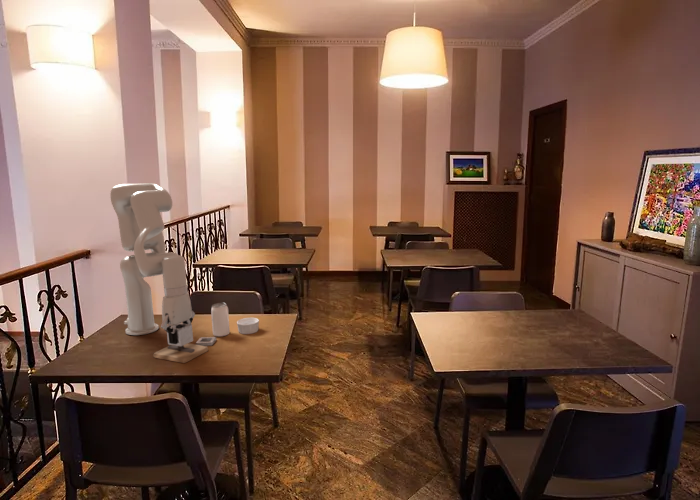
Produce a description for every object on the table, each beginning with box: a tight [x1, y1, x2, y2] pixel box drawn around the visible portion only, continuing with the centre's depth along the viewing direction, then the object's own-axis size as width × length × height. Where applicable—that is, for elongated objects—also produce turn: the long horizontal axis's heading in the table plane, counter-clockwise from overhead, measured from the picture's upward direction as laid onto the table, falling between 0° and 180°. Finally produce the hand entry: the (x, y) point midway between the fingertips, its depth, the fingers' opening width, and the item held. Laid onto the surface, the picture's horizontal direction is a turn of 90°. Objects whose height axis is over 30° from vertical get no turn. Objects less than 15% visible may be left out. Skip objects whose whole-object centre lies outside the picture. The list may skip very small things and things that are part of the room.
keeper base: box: [152, 343, 209, 364], centre depth 169 cm, size 14×12×8 cm
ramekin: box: [236, 317, 260, 335], centre depth 192 cm, size 9×9×4 cm
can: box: [210, 302, 231, 338], centre depth 189 cm, size 6×6×12 cm
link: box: [166, 323, 194, 346], centre depth 169 cm, size 6×6×6 cm
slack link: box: [195, 336, 217, 347], centre depth 180 cm, size 6×6×1 cm
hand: (180, 339), depth 169 cm, fingers closed on link, 6 cm apart
